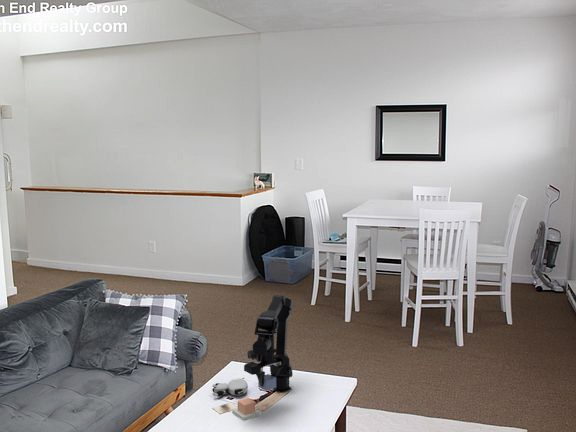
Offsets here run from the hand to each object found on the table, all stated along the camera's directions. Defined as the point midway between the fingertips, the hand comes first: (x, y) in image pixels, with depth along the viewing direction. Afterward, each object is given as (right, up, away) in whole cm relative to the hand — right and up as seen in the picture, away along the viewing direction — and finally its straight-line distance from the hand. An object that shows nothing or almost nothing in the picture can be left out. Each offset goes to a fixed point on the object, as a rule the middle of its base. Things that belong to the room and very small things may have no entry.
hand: (267, 384), depth 226 cm
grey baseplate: (-8, -12, +1) cm, 14 cm away
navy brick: (0, -1, 0) cm, 1 cm away
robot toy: (-16, -10, +19) cm, 27 cm away
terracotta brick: (-8, -11, 0) cm, 13 cm away
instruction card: (-17, -11, +5) cm, 21 cm away
